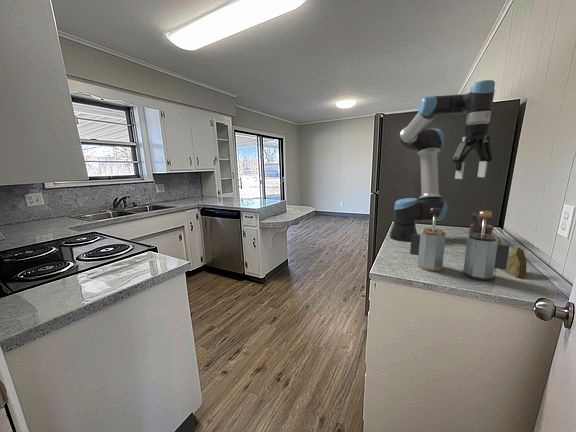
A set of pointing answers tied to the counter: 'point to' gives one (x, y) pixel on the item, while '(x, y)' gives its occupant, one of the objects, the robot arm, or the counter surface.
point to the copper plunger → (434, 216)
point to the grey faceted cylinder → (429, 249)
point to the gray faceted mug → (484, 256)
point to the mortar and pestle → (479, 226)
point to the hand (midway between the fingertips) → (470, 178)
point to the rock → (516, 263)
